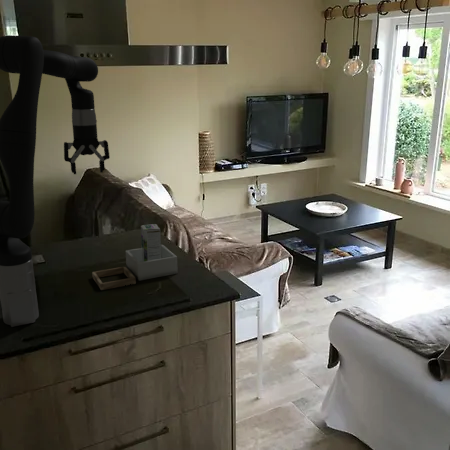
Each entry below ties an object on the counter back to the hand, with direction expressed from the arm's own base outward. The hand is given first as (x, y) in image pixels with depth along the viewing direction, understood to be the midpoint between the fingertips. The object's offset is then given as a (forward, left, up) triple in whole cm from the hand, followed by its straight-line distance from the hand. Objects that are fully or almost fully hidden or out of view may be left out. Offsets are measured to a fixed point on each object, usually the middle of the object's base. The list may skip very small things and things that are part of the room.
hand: (88, 173), depth 172 cm
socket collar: (-15, -2, -33) cm, 36 cm away
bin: (-12, -16, -33) cm, 39 cm away
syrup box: (-12, -16, -32) cm, 38 cm away
